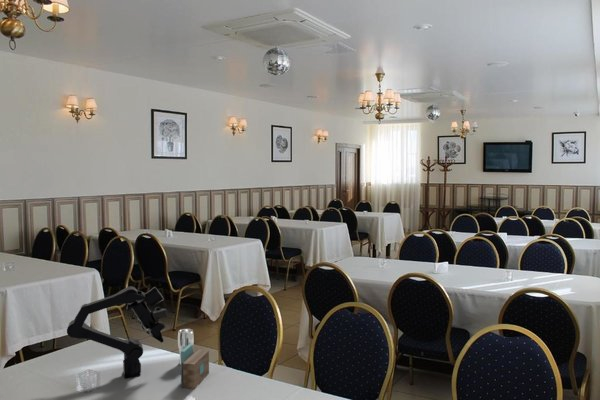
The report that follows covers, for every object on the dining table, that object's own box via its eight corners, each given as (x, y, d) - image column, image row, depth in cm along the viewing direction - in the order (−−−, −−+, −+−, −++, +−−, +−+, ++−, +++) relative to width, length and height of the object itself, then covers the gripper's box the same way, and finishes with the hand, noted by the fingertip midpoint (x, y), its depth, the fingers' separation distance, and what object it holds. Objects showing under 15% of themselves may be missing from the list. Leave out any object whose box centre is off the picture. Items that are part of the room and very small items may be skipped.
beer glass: (190, 367, 230) (189, 333, 229) (175, 365, 231) (175, 332, 230) (196, 361, 236) (196, 329, 236) (182, 360, 238) (181, 328, 237)
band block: (181, 387, 208) (181, 363, 208) (196, 372, 224) (196, 349, 223) (194, 388, 207) (194, 364, 207) (209, 373, 223) (208, 350, 222)
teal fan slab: (181, 382, 212) (180, 351, 211) (189, 373, 221) (189, 343, 220) (197, 383, 211) (197, 352, 210) (205, 375, 219) (205, 345, 219)
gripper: (165, 303, 217) (184, 333, 220) (153, 299, 233) (171, 327, 236) (142, 320, 212) (162, 350, 215) (131, 314, 228) (150, 342, 231)
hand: (162, 341), depth 224 cm, fingers closed
